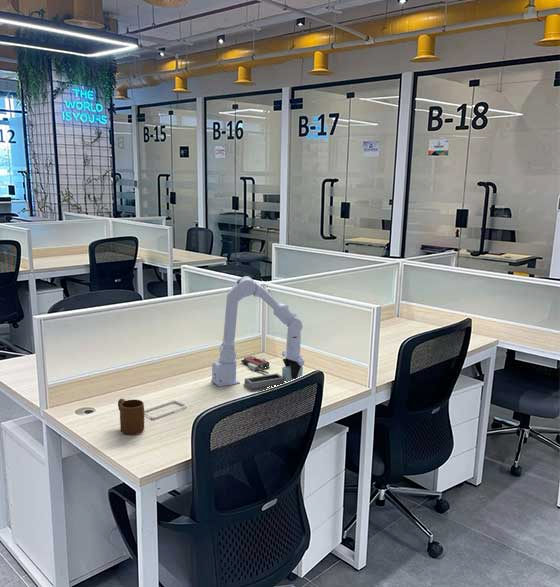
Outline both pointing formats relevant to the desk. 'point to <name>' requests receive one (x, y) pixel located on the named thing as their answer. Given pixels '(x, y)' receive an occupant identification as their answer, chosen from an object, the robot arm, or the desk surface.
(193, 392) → the desk surface
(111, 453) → the desk surface
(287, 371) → the blue-grey block
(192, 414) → the desk surface
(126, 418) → the mug
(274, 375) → the grey rectangular tray
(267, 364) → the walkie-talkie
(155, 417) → the grey rectangular frame
